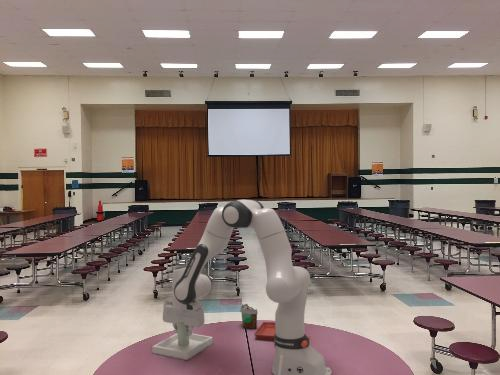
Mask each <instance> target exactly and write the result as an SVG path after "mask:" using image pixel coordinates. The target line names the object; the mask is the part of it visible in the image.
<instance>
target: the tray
mask: <svg viewBox="0 0 500 375" xmlns="http://www.w3.org/2000/svg"><path fill="white" fill-rule="evenodd" d="M212 345H214V338H213V336H210V335H203V334H196V333H192V335H191V336H189V345H187V346H179V345H178V334H177V333H174V334H173V335H170V336H169V337H167V338H165V339H163V340H161V341H159V342H158V343H156V344H154V345H153V346H151V347H152V348H151V350H152V354H155V355H160V356H165V357H168V358H174V359H179V360H184V361H189V360H190V359H192V358H194V357H195V356H196V355H198V354H200V353H201V352H203V351H204V350H205V349H207V348H208V347H210V346H212Z"/></svg>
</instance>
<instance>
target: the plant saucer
mask: <svg viewBox="0 0 500 375" xmlns="http://www.w3.org/2000/svg"><path fill="white" fill-rule="evenodd" d="M274 334H275V322H271V321H263V322H262V323H261V324H260V325H259V327H258V328H257V329H256V330H255V332H254V333H253V335H254V336H255V337H256V338H257V339H258V340H264V341H274Z"/></svg>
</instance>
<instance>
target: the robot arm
mask: <svg viewBox="0 0 500 375" xmlns="http://www.w3.org/2000/svg"><path fill="white" fill-rule="evenodd" d="M248 227H249V228H252V229H253V231H254V232H255V234H256V237H257V241H258V243H259V246H260V249H261V252H262V255H263V257H264V258H263V259H264V262H265V268H266V283H265V284H266V285H265V293H266V295H267V297H268V298H269V300H271V301H272V302H273V303H276V304H278V305H277V308H276V310H275V313H274V314H275V315H274V317H275V318H274V319H275V320H274V323H275V334H274V340H273V342H274V348H275V349H274V358H273V363H272V368H271V373H272V374H273V375H332V374H331V373H332V370H331V368H330V367H328V366H326V362H325V358H324V356H323V354H321V353H320V352H319V351H317V349H315V348H314V347H313V346H312V345H311V344H310V340H311V335H309V336H307V335H306V333H305V313H306V304H307V299H308V291H309V286H310V284H311V275H310V272H309V271H308V270H307V269H306V268H304V267H303V266H298V265H297V266H295V265H294V266H293V261H292V252H293V249H292V247H291V246H292V245H291V243H290V241H289V238H288V234H287V232H286V230H285V228H284V225H283V222H282V220H281V219H280V217H279V215H278V213H277V212H276V211H275V209H273V208H271V207H264V205H263V203H261V202H260V201H258V200H256V199H243V198H242V199H237V200H231V201H229V202H228V203H226V204H225V205H224V206H218V207H216V208H215V209H214V210H213V212H212V213H211V216H210V217H209V219H208V221H207V223H206V225H205V229H204V231H203V234H202V236H201V239H200V240H199V242H198V244H197V245H196V247H195V249H194V250H193V253H192V254H191V256H190V258H189V260H188V263H187V265H182V266H177V267H175V268H174V269H173V271H172V277H171V285H172V286H171V287H172V301H171V300H166V301H164V302H163V311H162V321H163V322H164V323H169V324H172V327H173V329H174V334H176V333H177V334H178V327H177V323H178V319H184V325H187V326H189V331H187V335H188V336H191V335H192V334H193V330H194V328H200V327H203V326H204V325H205V311H204V308H203V307H204V303H203V301H200V300H199V299H202V298H205V297H206V296H208V295H209V294H210V293H211V292H212V288H213V284H212V280H211V278H210V277H209V276H208V275H207V274H203V273H202V271H203V268H204V266H205V265H206V264H207V263H208V262H209V261H210V260H212V259H213V258H214V257H216V256H218V255H219V254H221V253H222V252H223V251H225V249H226V248H227V246H228V245H229V242H230V239H231V236H232V234H233V232H234V229H242V228H243V229H244V228H245V229H246V228H248Z"/></svg>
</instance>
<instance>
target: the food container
mask: <svg viewBox="0 0 500 375" xmlns="http://www.w3.org/2000/svg"><path fill="white" fill-rule="evenodd" d="M239 312H240V313H241V321H242V322H241V323H242V328H243V329H245V330H257V329H258V328H257V326H258V309H254V308H253V306H252V307H251V306H249V304H248V303H245V304H242V305H241V306H240V310H239Z"/></svg>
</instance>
